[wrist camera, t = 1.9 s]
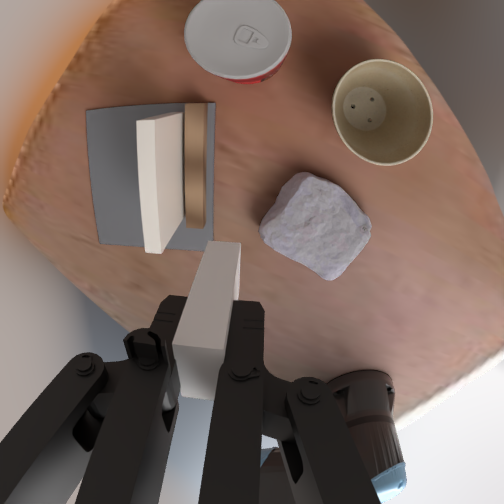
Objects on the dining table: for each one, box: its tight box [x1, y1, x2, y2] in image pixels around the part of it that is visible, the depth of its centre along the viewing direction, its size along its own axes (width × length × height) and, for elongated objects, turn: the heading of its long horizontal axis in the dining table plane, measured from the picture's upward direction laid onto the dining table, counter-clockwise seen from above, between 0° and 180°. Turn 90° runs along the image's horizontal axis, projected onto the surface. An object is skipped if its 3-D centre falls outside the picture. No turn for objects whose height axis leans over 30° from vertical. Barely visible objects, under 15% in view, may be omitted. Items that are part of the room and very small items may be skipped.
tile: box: [136, 112, 186, 254], centre depth 29 cm, size 12×2×10 cm, turn 177°
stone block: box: [259, 172, 372, 280], centre depth 36 cm, size 12×5×10 cm
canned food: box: [184, 0, 292, 84], centre depth 23 cm, size 8×8×11 cm
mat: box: [86, 103, 216, 251], centre depth 35 cm, size 18×16×1 cm
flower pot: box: [332, 59, 433, 166], centre depth 27 cm, size 10×10×7 cm
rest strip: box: [185, 103, 208, 229], centre depth 33 cm, size 14×2×2 cm, turn 177°
